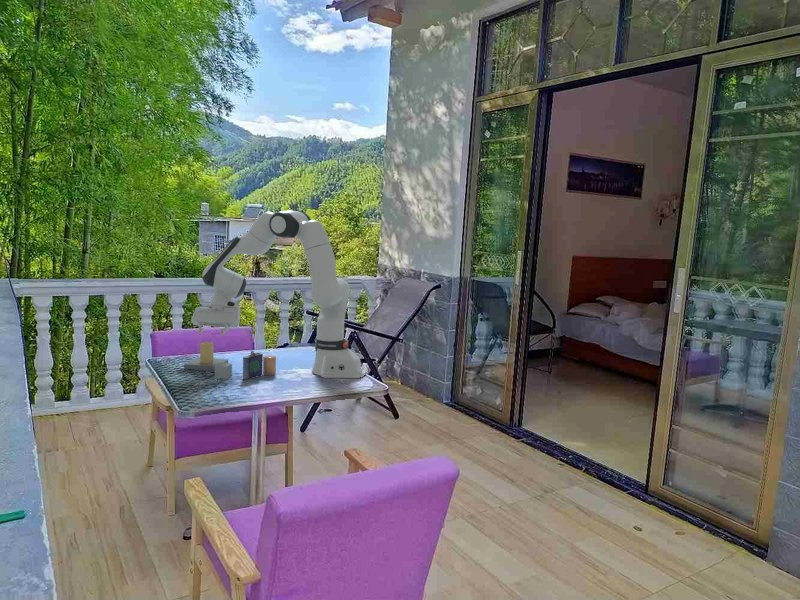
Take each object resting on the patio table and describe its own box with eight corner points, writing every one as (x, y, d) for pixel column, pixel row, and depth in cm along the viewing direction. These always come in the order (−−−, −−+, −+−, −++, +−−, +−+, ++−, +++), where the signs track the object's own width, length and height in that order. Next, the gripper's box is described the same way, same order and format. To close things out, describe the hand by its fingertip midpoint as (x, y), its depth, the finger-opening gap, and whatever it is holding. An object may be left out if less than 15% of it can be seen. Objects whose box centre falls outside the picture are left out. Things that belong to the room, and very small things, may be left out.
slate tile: (228, 363, 236) (228, 359, 236) (217, 371, 224) (217, 366, 224) (196, 361, 237) (196, 357, 236) (183, 369, 225) (183, 364, 224)
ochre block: (213, 360, 232) (213, 342, 231) (209, 363, 228) (209, 344, 227) (204, 360, 232) (204, 341, 231) (200, 362, 228) (200, 343, 227)
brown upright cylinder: (277, 372, 226) (277, 355, 225) (273, 375, 221) (273, 358, 220) (265, 371, 227) (265, 355, 226) (261, 375, 222) (261, 358, 221)
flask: (245, 380, 214) (245, 353, 212) (240, 378, 215) (240, 352, 214) (263, 375, 221) (264, 349, 220) (258, 374, 223) (259, 348, 222)
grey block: (231, 375, 219) (231, 363, 219) (227, 379, 214) (227, 366, 214) (219, 374, 220) (219, 362, 219) (214, 378, 215) (214, 365, 214)
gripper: (194, 301, 239) (184, 327, 231) (240, 303, 239) (232, 330, 230) (198, 310, 244) (189, 336, 236) (244, 312, 244) (236, 338, 235)
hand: (211, 333), depth 233 cm, fingers open, 8 cm apart
